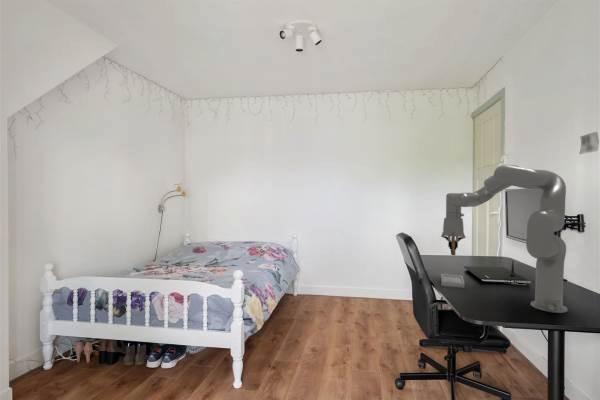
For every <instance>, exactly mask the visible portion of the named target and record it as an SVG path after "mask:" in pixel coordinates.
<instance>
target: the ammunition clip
mask: <svg viewBox="0 0 600 400" xmlns="http://www.w3.org/2000/svg"><path fill="white" fill-rule="evenodd" d="M450 240H451V249H450V255H451V256H456V249H455V240H456V236H455V234H454V232H453V235H452V236H451V237H450Z"/></svg>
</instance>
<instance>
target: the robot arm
mask: <svg viewBox="0 0 600 400" xmlns="http://www.w3.org/2000/svg"><path fill="white" fill-rule="evenodd" d="M483 185H484V186H482V187H481V188H479V189H478V190H476V191H474V192H460V193H459V192H458V193H457V192H449V193H447V194H446V195H445V197H446V198H445V217H444V218H443V225H442V233H441V236H440V237H441V238H443V239H444V240H446V241H447V242H448V244H447V245H448V248H449V250H451V237H452V235H453V232H454V234H455V250H457V248H459V247H458V245H459V243H458V242H460V241H461V240H463V239H466V235H465V231H464V221H463V219H464V218H462V217H465V214H464V213H462V208H472V207H473V208H474V207H478V206H480V205H482V204H484V203H486V202H489V201H490V200H491V199H493V198H494V196H496V195H497V194H499V193H501V192H503V191H504V190H506V189H508V188H510V187H513V186H514V187H516V188H521V189H525V190H526V189H527V190H541V191H542V193H541V197H540V202H539V210H536V211H534V212H532V213H531V214H530V216H529V217H528V220H527V225H526V240H525V243H526V245H525V246H526V250H527V253H528V254H529V255H530V256H531V257H533V258H534V259H536V261H535V284H534V285H535V286H534V287H535V291H534V300H532V301H530V306H531V307H533V308H534V309H536V310H538V311H539V310H540V311H542V312H543V311H544V312H548V313H554V314H564V313H567V312H568V308H567V307H566V305H564V274H565V273H564V271H565V269H564V268H565V259H566V254H567V244H566V243H565V241H564V240H563V239H562V238H561V237H560V236H558V235H555V234H554V233H555V232H558V231H561V230H562V229H563V228H564V226H565V216H566V196H567V187H566V183H565V181H564V179H563V178H562V177H561V176H560V175H559V174H557V173H555V172H553V171H550V170H544V169H533V168H532V169H531V168H526V167H521V166H519V165H516V164H502V165H499V166H498V167H496V169H494V171H493V175H491V176H489V177H488V178H485V180H484V181H483Z"/></svg>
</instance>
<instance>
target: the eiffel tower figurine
mask: <svg viewBox="0 0 600 400" xmlns="http://www.w3.org/2000/svg"><path fill="white" fill-rule="evenodd" d="M514 263H515V261H514V260H512V261H511V270H510V273H509V276H508V277H507V279H508V278H509V280H510V279H518V278H517V276H516V274H515V268H514V267H515V266H514ZM505 284H508V282H505ZM509 285H518V286H526V285H527V283H524V284H518V283H509Z"/></svg>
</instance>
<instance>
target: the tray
mask: <svg viewBox="0 0 600 400" xmlns="http://www.w3.org/2000/svg"><path fill="white" fill-rule="evenodd" d="M440 279H441V280H440V281H441V282H440V284H441V287H442V286H443V287H450V288H458V289H459V288H460V289H465V280H464V277H463V275H459V274H449V273H448V274H447V273H441V278H440Z"/></svg>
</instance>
